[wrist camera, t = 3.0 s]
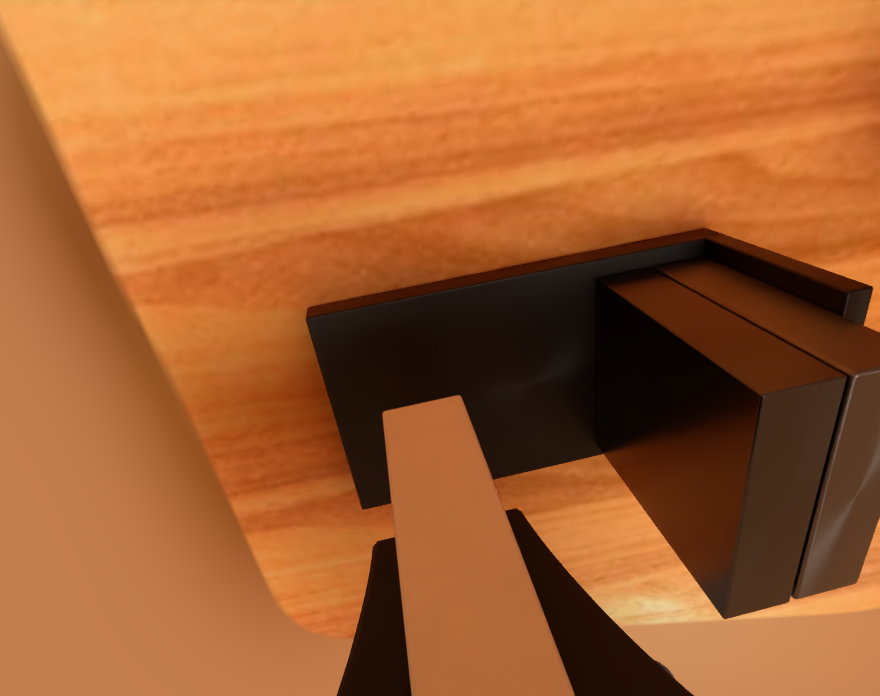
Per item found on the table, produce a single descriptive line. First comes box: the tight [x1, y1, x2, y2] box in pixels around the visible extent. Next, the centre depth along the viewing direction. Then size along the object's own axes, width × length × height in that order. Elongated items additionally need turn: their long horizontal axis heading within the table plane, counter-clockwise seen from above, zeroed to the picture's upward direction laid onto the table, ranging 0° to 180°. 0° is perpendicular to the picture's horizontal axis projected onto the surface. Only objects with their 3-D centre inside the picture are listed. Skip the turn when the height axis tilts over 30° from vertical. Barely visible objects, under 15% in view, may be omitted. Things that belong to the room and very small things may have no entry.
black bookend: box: [306, 229, 880, 619], centre depth 13 cm, size 12×7×7 cm, turn 99°
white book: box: [382, 395, 575, 696], centre depth 8 cm, size 2×6×6 cm, turn 9°
